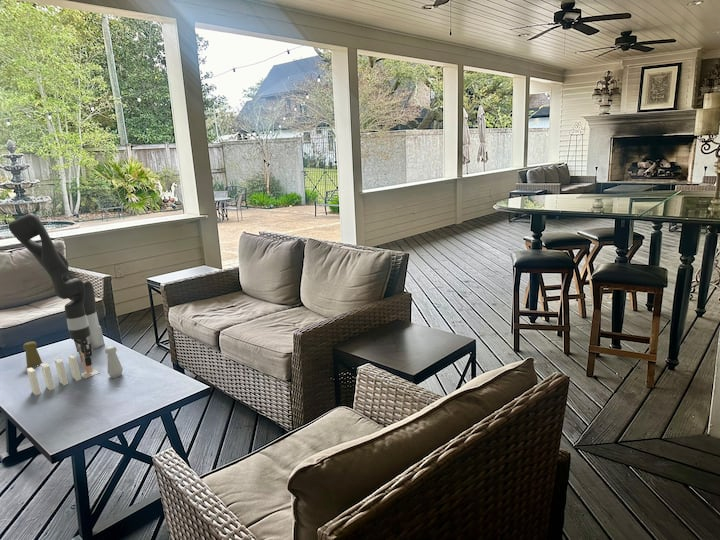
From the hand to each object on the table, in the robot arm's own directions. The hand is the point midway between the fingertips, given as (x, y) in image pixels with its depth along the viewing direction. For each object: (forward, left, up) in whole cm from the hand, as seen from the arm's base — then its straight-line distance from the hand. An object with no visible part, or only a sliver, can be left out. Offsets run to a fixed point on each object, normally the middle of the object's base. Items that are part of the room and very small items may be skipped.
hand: (86, 363), depth 211 cm
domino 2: (+15, 0, -5) cm, 16 cm away
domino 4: (+5, 0, -5) cm, 7 cm away
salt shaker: (-7, +12, -5) cm, 15 cm away
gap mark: (0, 0, -5) cm, 5 cm away
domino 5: (0, 0, -3) cm, 3 cm away
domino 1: (+20, 0, -5) cm, 20 cm away
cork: (+12, -33, -5) cm, 36 cm away
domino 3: (+10, 0, -5) cm, 11 cm away
